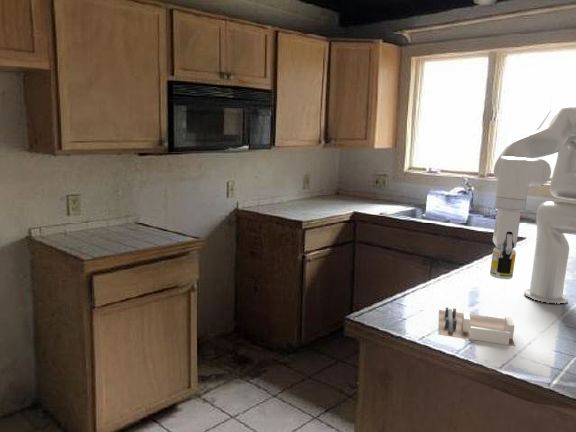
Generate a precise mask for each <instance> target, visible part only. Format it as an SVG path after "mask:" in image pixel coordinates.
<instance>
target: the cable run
mask: <svg viewBox="0 0 576 432" xmlns="http://www.w3.org/2000/svg"><path fill="white" fill-rule="evenodd" d="M444 311H445V317H446V321H445V328H448V332H449V333H450V334H453V329H456V323H457V318H455V316H456V312H457V308H452V309H451V308H449V307H447V306H446V307H445V310H444ZM452 312H453V313H452ZM453 318H454V321H453Z"/></svg>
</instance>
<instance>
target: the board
mask: <svg viewBox="0 0 576 432" xmlns="http://www.w3.org/2000/svg"><path fill="white" fill-rule="evenodd" d="M452 313H453V311H452ZM469 314H470V326H469V332H463V330H462V318H463V312H458V311H456V316H455V318H457V323H456V329H453V334H450V333H449V332H448V328H445V321H446V317H445V310H444V309H442V310H441V309H438V332H437V333H438V335H441V336H446V337H453V338H459V339H467V340H473V339H470V338H469V337H470V328H471V326H473V327H480V328H487V329H493V330H500V331H504V323H505V318H503V317H502V318H501V317H495V316H494V317H493V316H488V315H487V316H486V315H479V314H472V313H469ZM453 321H454V318H453ZM473 341H474V340H473ZM477 341H479V340H477ZM485 342H486V341H484V343H485ZM486 343H487V342H486ZM490 343H492V344H494V343H493V342H490ZM497 344H499V343H497ZM499 345H500V344H499ZM503 345H506V344H503ZM506 346H507V345H506ZM508 346H512V347H516V344H515V341H514V338H513V339H510V338H509V345H508Z"/></svg>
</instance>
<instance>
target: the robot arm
mask: <svg viewBox="0 0 576 432" xmlns="http://www.w3.org/2000/svg"><path fill="white" fill-rule="evenodd" d="M554 154H557V158H556V161H555V165H554V169H553V172H552V168H551V165H550V163H548V161H546V160H545V159H542V158H543V157H546V156H550V155H554ZM540 158H541V159H540ZM552 173H553V174H552ZM551 174H552V177H551ZM493 176H494V178H495V179H496V180H497V186H496V187H497V188H496V192H495V193H496V194H495V201H494V202H495V203H494V210H497V213H496V216H495V223H494V230H493V235H492V242H493V244H494V245H495V247H499V245H500V246H501V251H500V258H499V259H498V267H497V272H498V273H506V274H510V270H511V263H512V249H515V248H516V247H517V243H518V238H519V237H518V236H519V230H520V222H521V221H520V220H521V213H526V205H527V199H528V192H529V191H528V190H529V187H540V186H543V185H545V184H546V183H547V182H548V181H549V179H550V178H551V179H550V184H549V185H550V186H549V193H550V194H551V196H553V197H554V198H557V199H562V200H569V201H576V104H561V105H557V106H555V107H553V108H552V109H550V110H549V112H548V114H546V117H544V119H543V121H542V122H541V123H540V125H539V126H538V127H537V129H536V130H535V132H532V133H530V134H528V135H525V136H523V137H521V138H519V139H516V140H515V141H512V142H511V143H510V144H508V145H507V146H506V147H505V148H504V149H503V151H502V152H501V154H500V155H499V157H497V160H496V161H495V164H494V167H493ZM535 213H536V214H535V215H536V216H535V217H536V219H535V220H536V240H535V247H534V248H535V249H534V254H533V255H534V257H533V264H532V271H531V279H530V280H531V281H530V287H529V288H527V289H524V293H523V295H524V294H525V295H526V296H528V297H530V298H532V299H535V300H538V301H537V302H539V301H541V302H540V303H543V302H546V303H545V304H549V303H555V304H554V305H561V304H560V303H564V304H567V303H568V300H569V299H568V296H567V295H565V294H564V288H565V282H566V274H567V268H568V261H569V260H568V259H569V254H570V244H569V242H568V240H567V238H566V236H565V234H568V235H574V236H576V203H572V202H566V201H565V202H564V201H557V200H549V201H544V202H541V204H539V206H538V208H537V210H536V212H535ZM513 243H514V245H513ZM503 245H506V247H505V246H503ZM503 249H506V250H504V251H503ZM525 295H524V296H525ZM526 296H525V297H526ZM528 297H527V298H528ZM530 298H529V299H530ZM532 299H531V300H532ZM535 300H534V301H535ZM556 303H557V304H556Z"/></svg>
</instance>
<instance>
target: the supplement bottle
mask: <svg viewBox="0 0 576 432" xmlns="http://www.w3.org/2000/svg"><path fill="white" fill-rule="evenodd" d="M513 245H514V243H513ZM503 246H505V247H506V245H503ZM504 250H506V249H503V251H504ZM500 251H501V246H500V245H499V247H497V246H495V247H493V250H492V255H491V263H490V270H489V271H490V272H489V274H490V276H491V277H493V278H496V279H501V280H512V278H513V275H514V269H515V264H516V263H515V262H516V261H515V260H516V255H517V251H516V250H515V248H513V249H512V263H511V270H510V274H506V273H498V272H497V267H498V259H499V258H500Z"/></svg>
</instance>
